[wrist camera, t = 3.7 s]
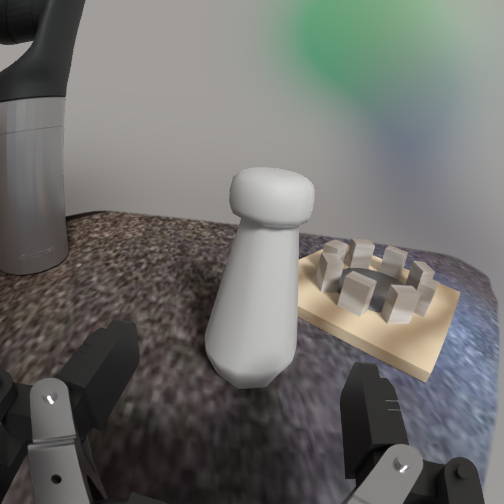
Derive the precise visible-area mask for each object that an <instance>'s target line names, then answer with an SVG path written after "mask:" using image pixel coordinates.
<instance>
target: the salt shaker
mask: <svg viewBox="0 0 504 504" xmlns="http://www.w3.org/2000/svg"><path fill="white" fill-rule="evenodd" d="M314 201H315V188H314V186H313V184H312V183H311V182H310V180H309V179H307V178H305V177H304V176H302V175H300V174H298V173H294V172H291V171H287V170H282V169H276V168H267V167H254V168H247V169H244V170H242V171H240V172H239V173H238V174H236V175H235V176H234V177H233V180H232V183H231V187H230V197H229V202H230V205H231V209H232V211H233V213H234V214H235V215H237V216H239V217H241V221H240V224H239V227H238V230H237V233H236V236H235V240H234V243H233V246H232V249H231V252H230V255H229V258H228V261H227V265H226V268H225V271H224V274H223V277H222V281H221V284H220V287H219V290H218V293H217V297H216V300H215V303H214V306H213V309H212V313H211V316H210V319H209V323H208V326H207V329H206V332H205V346H206V353H207V356H208V358H209V360H210V362H211V363H212V365H213V367H214V369H215V370H216V372H217V374H218V375H220V376H221V377H222V378H224V379H225V380H226V381H228V382H229V383H230V384H232V385H233V386H235V387H236V388H237V389H246V388H262V387H267V386H268V384H269V383H270V382H271V381H272V380H273V379H274V378H275V377H276V376H277V375H278V374H279V373H280V372H282V371H283V370H284V369H285V368H286V367H287V366H289V365H290V364H291V362H292V360H293V357H294V353H295V349H296V343H297V314H298V266H299V225H301V224H304V223H307V221H308V220H309V218H310V216H311V213H312V209H313V205H314Z"/></svg>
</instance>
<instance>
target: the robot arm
mask: <svg viewBox="0 0 504 504" xmlns="http://www.w3.org/2000/svg"><path fill="white" fill-rule="evenodd" d="M84 3H85V0H0V44H3V45H14V44H19V43H23V42H29V41H33V43H32V45H31V47H30V48H29V49H28V50H27V51H26V52H25V53H24V54H23V56H21V57H20V58H19V59H18V60H17V61H15V62H14V63H13V64H11V65H10V66H9V67H7V68H6V69H4V70H3V71H1V72H0V269H1V270H2V271H4V272H6V273H9V274H15V275H25V274H33V273H37V272H41V271H44V270H47V269H50V268H52V267H54V266H56V265H58V264H59V263H61V262H62V261H63V260H64V259H65V258H66V257H67V255H68V251H69V250H68V241H67V231H66V217H65V205H64V204H65V202H64V179H63V178H64V176H63V140H64V114H65V97H66V87H67V82H68V77H69V73H70V67H71V61H72V55H73V48H74V44H75V39H76V35H77V31H78V26H79V22H80V19H81V16H82V11H83V7H84ZM138 362H139V347H138V338H137V329H136V325H135V323H134V322H130V321H126V320H122V319H118V318H115V319H114V320H113V321H112V322H111V323H110V324H109V326H108V327H107V328H106V329H104V328H100V329H98V330H96V331H95V332H93V333H91V334H90V335H89V336H88V337H87V338H86V340H85V341H84V342H83V345H81V346H80V347H79V348H78V349H77V352H75V353H74V354H73V356H72V357H71V358H70V359H69V361H68V362H67V363H66V364H65V366H64V367H63V368H62V369H61V371H60V372H59V373H58V374H57V376H56V377H55V378H45V379H42V380H40V381H38V382H37V383H35V384H34V385H33V386H32V385H25V384H18V383H14V382H13V379H12V377H11V375H10V374H9V373H8V372H6V371H4V370H0V422H1V425H0V504H1V503H2V501H3V499H4V497H5V495H6V493H7V491H8V489H9V487H10V485H11V483H12V481H13V479H14V477H15V475H16V473H17V471H18V469H19V467H20V466H21V464H22V462H23V460H24V458H25V456H26V455H27V453H28V457H29V465H30V472H31V479H32V485H33V490H34V495H35V500H36V504H168V503H166V502H163V501H159V500H156V499H153V498H150V497H146V496H143V495H140V494H137V493H134V492H131V494H130V497H129V498H108V497H107V494H106V492H105V489H104V487H103V485H102V483H101V480H100V478H99V475H98V472H97V468H96V465H95V461H94V458H93V454H92V451H91V447H90V443H89V439H88V435H87V432H88V431H89V429H90V427H93V428H95V429H98V430H100V431H101V430H102V428H103V426H104V424H105V422H106V421H107V419H108V417H109V415H110V413H111V412H112V410H113V408H114V406H115V405H116V403H117V401H118V399H119V397H120V396H121V394H122V392H123V390H124V389H125V387H126V385H127V383H128V382H129V380H130V378H131V377H132V375H133V373H134V371H135V370H136V368H137V365H138ZM397 400H398V399H397V395H396V392H395V388H394V387H393V386H392V384H391V383H390V382H389V380H388V379H387V378H380V375H379V371H378V367H377V365H376V364H375V363H363V362H355V363H354V365H353V367H352V369H351V372H350V374H349V376H348V379H347V381H346V383H345V386H344V388H343V390H342V393H341V398H340V411H341V423H342V435H343V448H344V464H345V479H356V487H355V488H354V489H353V490H352V491H351V493H350V494H349V495H348V496H347V497H346V499H345V500H344V501H343V502H342V503H341V504H485V503H484V498H483V493H482V489H481V484H480V480H479V476H478V472H477V469H476V467H475V465H474V464H473V463H472V462H471V461H470V460H468V459H466V458H462V457H457V458H453V459H451V460H450V461H449V462H448V463H447V464H446V465H443V464H438V463H433V462H429V461H425V460H423V459H422V457H421V455H420V453H419V452H418V451H417V450H416V449H415V448H413V447H411V446H409V443H408V439H407V435H406V430H405V426H404V422H403V418H402V414H401V411H400V406H399V403H398V402H397Z"/></svg>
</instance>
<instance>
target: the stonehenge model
mask: <svg viewBox="0 0 504 504" xmlns="http://www.w3.org/2000/svg"><path fill="white" fill-rule="evenodd" d="M374 248H375V245H374V244H373V243H372V242H371V241H369V240H362V239H353V238H352V239H351V243H350V246H348V244H346V243H343V242H340V241H338V240H333V241H330V242H328V243H326V244H324V249H322V250H320V251H318V252H315V253H313V254H311V255H309V256H306V257H304V258H302V259H300V260H299V266H298V314H297V316H298V317H300V318H302V319H303V320H305V321H307V322H309V323H311V324H313V325H314V326H316V327H318V328H320V329H322V330H324V331H326V332H328V333H329V334H331V335H333V336H335V337H337V338H339V339H341V340H343V341H345V342H346V343H348V344H350V345H352V346H354V347H356V348H358V349H360V350H362V351H364V352H366V353H368V354H369V355H371V356H373V357H375V358H377V359H379V360H381V361H383V362H385V363H387V364H389V365H391V366H393V367H395V368H397V369H399V370H401V371H403V372H405V373H407V374H409V375H411V376H413V377H415V378H417V379H419V380H421V381H423V382H425V383H426V381H427V379H428V377H429V376H430V374H431V372H432V370H433V367H434V365H435V362H436V360H437V358H438V355H439V353H440V350H441V348H442V345H443V342H444V340H445V337H446V334H447V332H448V329H449V326H450V323H451V320H452V317H453V314H454V311H455V308H456V305H457V302H458V299H459V295H460V292H458V291H456V290H454V289H451V288H449V287H447V286H444V285H442V284H440V283H439V282H438V281H435V280H433V279H432V278H433V275H434V273H435V272H434V271H433V270H432V269H431V268H430V267H429V266H428V265H427V264H426V263H425V262H419V261H413V262H412V266H411V269H410V271H409V270H407V269H405V268H403V267H404V264H405V261H406V258H407V254H408V252H405V251H403V250H400V249H398V248H395V247H393V246H388V247H387V248H386V249H385V253H384V256H383V259H381V258H378V257H376V256H373V251H374Z"/></svg>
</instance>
